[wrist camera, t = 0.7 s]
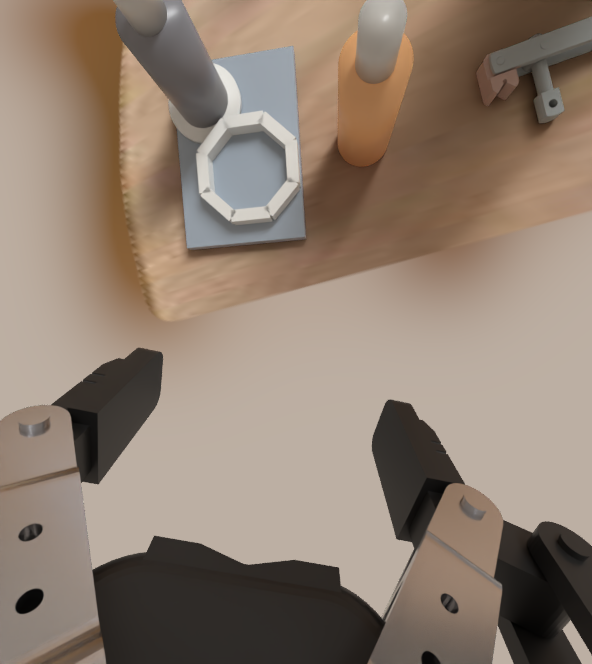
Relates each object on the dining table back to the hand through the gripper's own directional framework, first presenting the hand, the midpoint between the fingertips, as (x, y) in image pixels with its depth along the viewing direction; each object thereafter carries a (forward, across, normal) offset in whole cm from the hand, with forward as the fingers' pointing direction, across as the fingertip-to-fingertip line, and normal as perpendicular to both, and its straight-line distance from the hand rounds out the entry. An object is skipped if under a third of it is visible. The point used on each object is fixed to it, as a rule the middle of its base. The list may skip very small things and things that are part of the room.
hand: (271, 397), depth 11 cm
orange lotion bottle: (+23, -4, -13) cm, 26 cm away
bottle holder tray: (+24, +7, -9) cm, 26 cm away
